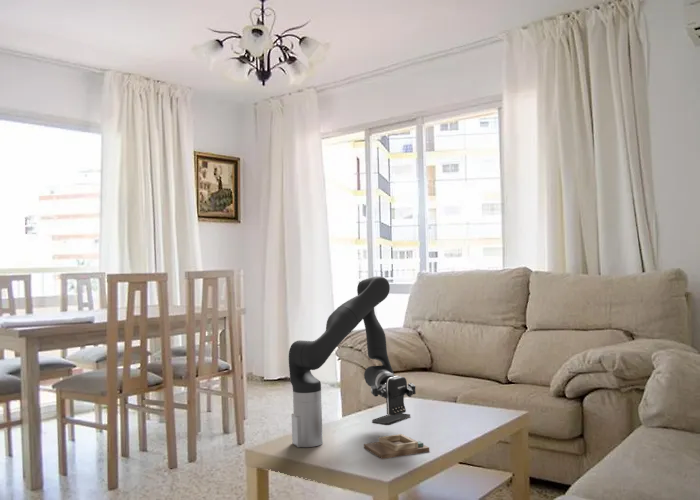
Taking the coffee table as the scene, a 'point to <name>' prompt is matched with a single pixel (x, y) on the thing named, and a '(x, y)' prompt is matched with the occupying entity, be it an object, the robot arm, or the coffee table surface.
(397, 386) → the battery charger
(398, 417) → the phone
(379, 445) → the board
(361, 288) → the robot arm
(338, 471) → the coffee table surface
